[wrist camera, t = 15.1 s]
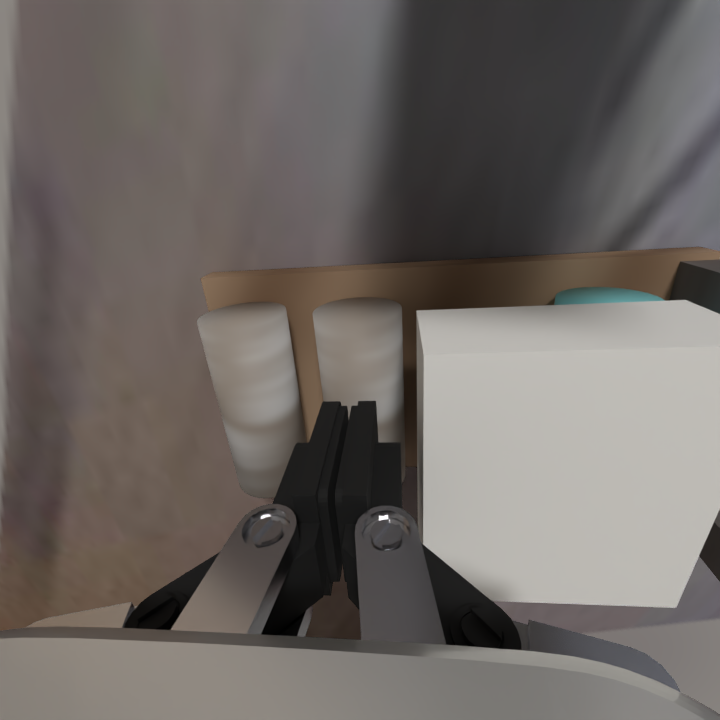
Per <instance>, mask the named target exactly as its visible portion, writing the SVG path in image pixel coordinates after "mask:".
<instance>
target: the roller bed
mask: <svg viewBox="0 0 720 720" xmlns="http://www.w3.org/2000/svg"><path fill="white" fill-rule="evenodd" d="M719 258H720V251H716V250H712V249H707V248H703V247H687V248H668V249H649V250H630V251H611V252H592V253H573V254H554V255H535V256H516V257H497V258H478V259H459V260H440V261H421V262H402V263H383V264H364V265H345V266H326V267H307V268H288V269H269V270H250V271H231V272H212V273H210V274H208V275H206V276H204V277H202V278H201V282H202V286H203V290H204V294H205V298H206V302H207V306H208V310H209V312H208V313H206V314H204V315H202V316H201V317H200V318H199V319H198V320H197V324H198V328H199V332H200V336H201V340H202V343H203V347H204V351H205V355H206V359H207V363H208V366H209V370H210V374H211V378H212V382H213V385H214V389H215V393H216V397H217V401H218V405H219V408H220V412H221V416H222V420H223V424H224V428H225V431H226V435H227V439H228V443H229V447H230V451H231V454H232V458H233V462H234V466H235V470H236V473H237V477H238V481H239V485H240V487H241V489H242V490H243V491H244V492H245V493H247V494H248V495H250V496H253V497H257V498H273V497H275V496H276V493H277V491H278V488H279V486H280V483H281V480H282V478H283V475H284V472H285V470H286V467H287V465H288V462H289V459H290V457H291V454H292V451H293V449H294V446H295V444H296V443H309V441H310V438H311V435H312V432H313V429H314V426H315V423H316V420H317V417H318V414H319V410H320V407H321V404H322V402H323V401H340V402H341V406H347V408H348V418H349V416H350V411H351V406H357V405H358V401H376V407H377V424H378V441H379V442H401V473H402V483H403V481H404V479H405V474H406V468H405V467H417V325H416V311H417V310H443V309H468V308H493V307H519V306H544V305H554V303H555V296H556V294H557V293H559V292H561V291H563V290H567V289H572V288H581V287H611V288H622V289H630V290H636V291H641V292H645V293H649V294H652V295H655V296H658V297H660V298H662V299H664V300H665V301H670V300H687V301H689V302H692V303H694V304H697V305H699V306H702V307H704V308H706V309H709V310H711V311H714V312H716V313H718V314H720V259H719ZM699 556H700V558H701V559H702V560H703V561H704V562H705V564H706V565H707V566H708V567H709V569H710V570H711V571H712V572H713V574H714V575H715V576H716V577H717V579H718V580H719V581H720V510H719V512H718V514H717V516H716V519H715V521H714V523H713V525H712V528H711V530H710V532H709V534H708V537H707V539H706V541H705V543H704V546H703V548H702V550H701V552H700V555H699Z"/></svg>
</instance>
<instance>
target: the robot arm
mask: <svg viewBox="0 0 720 720" xmlns="http://www.w3.org/2000/svg"><path fill="white" fill-rule="evenodd" d="M342 563H343V570H344V578H345V582H347V589H348V597H349V599H350V600H351V601H352V602H353V603H354V604H355V606H356V607H357V608H358V609H359V610H360V625H361V640H355V639H337V638H318V637H305V635H306V632H307V629H308V626H309V623H310V620H311V617H312V612H313V606H312V605H313V604H315V603H316V602H317V601H318V600H319V599H321V598H322V597H323V595H331V591H332V584H333V582H339V581H340V577H341V570H342ZM0 720H720V714H718V713H717V712H715V711H714V710H712V709H710V708H708V707H707V706H705V705H703V704H701V703H700V702H698V701H696V700H694V699H693V698H691V697H689V696H687V695H685V694H683V693H681V692H680V690H679V688H678V686H677V684H676V682H675V680H674V679H673V678H672V677H671V676H670V675H669V673H668V672H667V671H666V670H665V669H664V668H663V666H662V665H660V664H659V663H658V662H656V661H655V660H654V659H652V658H651V657H650V656H648V655H647V654H645V653H643V652H640V651H638V650H636V649H633V648H631V647H628V646H624V645H620V644H617V643H613V642H609V641H605V640H602V639H598V638H595V637H591V636H587V635H583V634H580V633H576V632H572V631H569V630H565V629H561V628H558V627H554V626H550V625H547V624H543V623H539V622H536V621H532V620H529V621H528V625H527V624H523V623H519V622H516V621H512V620H511V618H510V617H509V616H508V615H507V614H506V613H505V612H504V611H503V610H502V609H501V608H500V607H499V606H497V605H496V604H495V603H494V602H492V601H491V600H490V599H489V598H488V597H486V596H485V595H484V594H483V593H482V592H480V591H479V590H478V589H477V588H475V587H474V586H473V585H472V584H471V583H469V582H468V581H467V580H466V579H465V578H463V577H462V576H461V575H460V574H458V573H457V572H456V571H455V570H454V569H452V568H451V567H450V566H449V565H448V564H446V563H445V562H444V561H443V560H441V559H440V558H439V557H438V556H437V555H435V554H434V553H433V552H432V551H431V550H429V549H428V548H427V547H426V546H424V545H423V544H422V543H421V540H420V536H419V531H418V527H417V525H416V522H415V520H414V518H413V517H412V516H411V515H410V514H409V513H408V512H406V511H404V510H403V509H402V473H401V442H379V441H378V424H377V407H376V401H358V405H357V406H351V411H350V416H349V418H348V408H347V406H341V402H340V401H323V402H322V404H321V407H320V410H319V414H318V417H317V420H316V423H315V426H314V429H313V432H312V435H311V438H310V441H309V443H296V444H295V446H294V449H293V451H292V454H291V457H290V459H289V462H288V465H287V467H286V470H285V472H284V475H283V478H282V480H281V483H280V486H279V488H278V491H277V493H276V496H275V499H274V501H273V504H268V505H263V506H260V507H258V508H256V509H253V510H252V511H250V512H249V513H248V514H246V515H245V516H244V517H243V518H242V520H241V521H240V522H239V523H238V525H237V526H236V528H235V530H234V531H233V533H232V534H231V536H230V537H229V539H228V541H227V542H226V544H225V545H224V547H223V548H222V550H221V551H220V552H219V553H218V554H216V555H214V556H213V557H211V558H210V559H208V560H206V561H205V562H203V563H202V564H200V565H198V566H197V567H195V568H193V569H192V570H190V571H189V572H187V573H185V574H184V575H182V576H181V577H179V578H177V579H176V580H174V581H173V582H171V583H169V584H168V585H166V586H164V587H163V588H161V589H160V590H158V591H156V592H155V593H153V594H152V595H150V596H149V597H148V598H146V599H145V600H144V601H142V602H141V603H140V604H139V605H138V606H136V607H134V606H133V604H132V602H129V603H124V604H119V605H113V606H108V607H103V608H98V609H92V610H87V611H82V612H76V613H71V614H66V615H61V616H55V617H50V618H46V619H43V620H40V621H37V622H34V623H33V624H31V625H29V626H28V627H26V628H19V629H11V630H3V631H0Z"/></svg>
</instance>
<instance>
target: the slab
mask: <svg viewBox="0 0 720 720" xmlns="http://www.w3.org/2000/svg"><path fill="white" fill-rule="evenodd" d="M416 325H417V491H418V531H419V536H420V540H421V543H422V544H423V545H424V546H426V547H427V548H428V549H429V550H431V551H432V552H433V553H434V554H435V555H437V556H438V557H439V558H440V559H441V560H443V561H444V562H445V563H446V564H448V565H449V566H450V567H451V568H452V569H454V570H455V571H456V572H457V573H458V574H460V575H461V576H462V577H463V578H465V579H466V580H467V581H468V582H469V583H471V584H472V585H473V586H474V587H475V588H477V589H478V590H479V591H480V592H482V593H483V594H484V595H485V596H486V597H488V598H489V599H490V600H491V601H507V602H534V603H561V604H588V605H615V606H642V607H669V608H676V607H677V604H678V602H679V600H680V598H681V595H682V593H683V591H684V589H685V586H686V584H687V582H688V580H689V577H690V575H691V573H692V570H693V568H694V566H695V564H696V561H697V559H698V557H699V555H700V552H701V550H702V548H703V546H704V543H705V541H706V539H707V537H708V534H709V532H710V530H711V528H712V525H713V523H714V521H715V519H716V516H717V514H718V512H719V510H720V314H718V313H716V312H714V311H711V310H709V309H706V308H704V307H702V306H699V305H697V304H694V303H692V302H689V301H687V300H670V301H645V302H620V303H594V304H569V305H544V306H519V307H493V308H468V309H443V310H417V311H416Z"/></svg>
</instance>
